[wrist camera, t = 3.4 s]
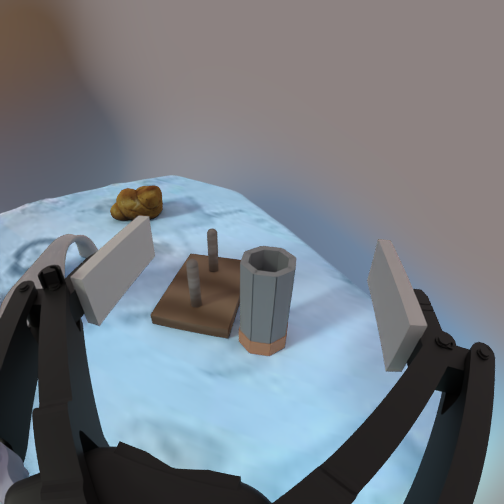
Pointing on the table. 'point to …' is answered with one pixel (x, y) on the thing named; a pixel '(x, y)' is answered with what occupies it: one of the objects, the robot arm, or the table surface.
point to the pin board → (202, 294)
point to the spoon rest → (53, 260)
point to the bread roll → (138, 203)
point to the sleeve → (265, 298)
